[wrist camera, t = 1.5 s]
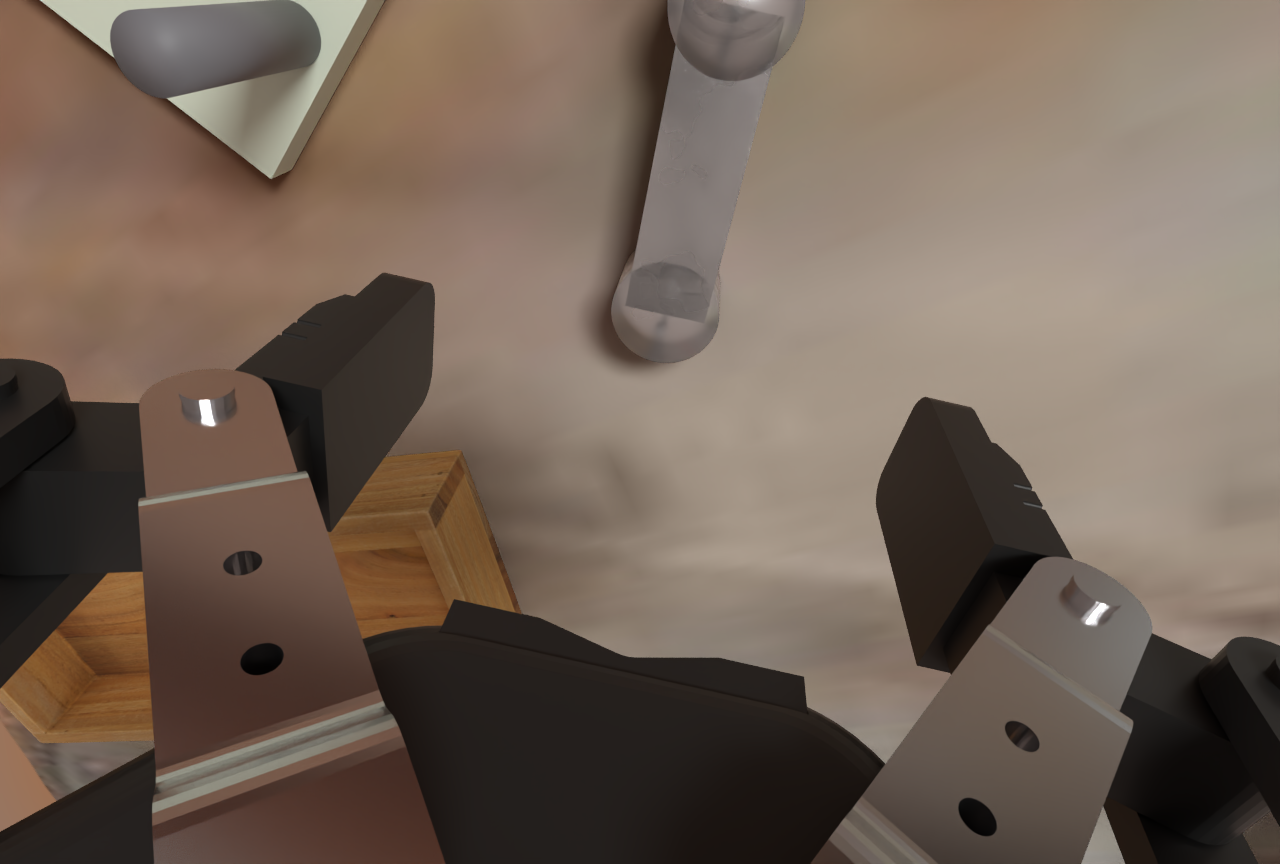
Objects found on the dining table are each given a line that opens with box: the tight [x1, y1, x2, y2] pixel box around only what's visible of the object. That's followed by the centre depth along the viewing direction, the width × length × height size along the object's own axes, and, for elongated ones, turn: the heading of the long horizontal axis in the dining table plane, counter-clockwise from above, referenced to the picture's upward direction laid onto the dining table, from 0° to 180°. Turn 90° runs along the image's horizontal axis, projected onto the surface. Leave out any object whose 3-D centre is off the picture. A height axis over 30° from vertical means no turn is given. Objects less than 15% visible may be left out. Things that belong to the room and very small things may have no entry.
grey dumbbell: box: [611, 0, 805, 363], centre depth 25 cm, size 14×4×3 cm, turn 169°
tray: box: [0, 450, 522, 743], centre depth 39 cm, size 31×15×6 cm, turn 100°
